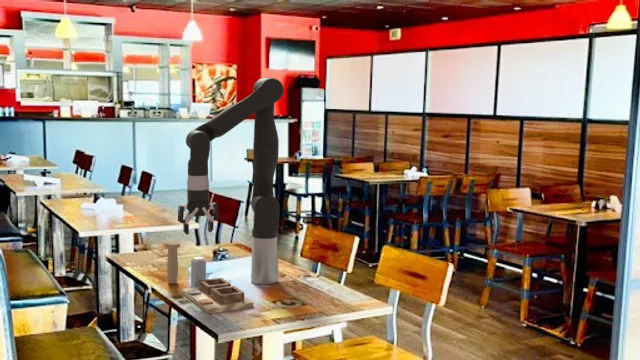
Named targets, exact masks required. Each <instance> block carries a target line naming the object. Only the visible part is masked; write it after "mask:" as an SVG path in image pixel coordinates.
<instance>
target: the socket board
mask: <svg viewBox="0 0 640 360" xmlns="http://www.w3.org/2000/svg"><path fill="white" fill-rule="evenodd" d="M181 294H182V295H183V296H185V297H186V298H187V299H189V300H190V301H191V302H193V304H195V305H196V306H197V307H199V309H201V310H202V311H203V312H205V313H206V314H207V315H209V314H216V312H217V313H221V312H228V311H235V310H242V309H247V308H254V303H255V302H253V301H252V300H251V299H249V298H248V297H246V296H245V292H244V291H243V290H241V289H240V288H238V287H237V286H235V285H232V283H231V282H230V281H228V280H226V279H224V278H223V277H216V278H215V277H214V278H206V280H199V287H193V288H192V287H186V288H185V287H184V288H182V289H181Z"/></svg>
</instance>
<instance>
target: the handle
mask: <svg viewBox="0 0 640 360" xmlns="http://www.w3.org/2000/svg"><path fill="white" fill-rule="evenodd" d="M164 244H165V248H166V249H167V264H166V269H167V270H166V274H167V283H168V284H170V285H171V284H172V285H174V284H177V282H178V276H179V260H178V259H179V258H178V249H179V248H181V242H180V241H177V240H166V241H165V243H164Z"/></svg>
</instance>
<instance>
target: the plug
mask: <svg viewBox="0 0 640 360" xmlns="http://www.w3.org/2000/svg"><path fill="white" fill-rule="evenodd" d="M190 261H191V262H190V264H191V265H190V288H193V287H199V280H206V279H207V275H206V274H207V260H206V259H205V258H204V257H202V256H195V257H192V259H190Z"/></svg>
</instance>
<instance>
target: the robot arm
mask: <svg viewBox="0 0 640 360" xmlns="http://www.w3.org/2000/svg"><path fill="white" fill-rule="evenodd" d="M252 91H253V92H252V93H251V94H250V95H248V96H247V97H245V98H244V99H242V100H240V101H239V102H236V103H235V104H233V105H231V106H229V107H227V108H225V109H224V110H221V112H219V113H218V114H216V115H215V116H214V117H212V118H210V119H209V120H208V121H207V122H205V123H203V124H201V125H199V126H197V127H196V128H194V129H192V130H191V131H190V132H188V134H187V135H186V137H185V143H186V146H187V147H188V148H189V150H190V151H189V152H190V153H189V159H188V161H187V179H186V180H187V181H186V182H187V183H186V185H187V186H186V190H187V191H186V194H187V195H186V196H187V197H186V198H187V202H186V203H187V204H186V205H182V204H178V208H177V222H179V223H180V224H183V226H182V227H183V228H182V229H183V230H182V231H183V233H184V234H185V235H186V236H187V235H189V234H190V226H189V225H190V224H189V222H190V221H191V220H193V218H194V217H204V216H205V218H206V219H207V220H208V221H207V231H208V233H212V232H213V231H214V222H215V221H218V220H219V219H220V218H219V204H218V203H217V202H212V203H210V180H209V158H210V151H211V142H212V141H213V140H215V139H217V138H221V137H223V136H224V135H226V134H227V133H228V132H230V131H232V130H233V129H234V128H236V127H237V126H238V125H240V124H241V123H242V122H244V121H245V120H246V119H248V118H249V117H251V116H253V115H254V123H253V124H254V126H253V127H254V128H253V142H252V143H253V147H252V148H253V149H252V152H253V153H252V155H253V156H252V157H253V160H252V161H253V187H252V195H251V204H250V205H251V209H252V212H253V213H254V218H253V220H254V221H253V228H252V230H251V266H250V267H251V270H250V271H251V273H250V274H251V275H250V281H251V283H253V284H256V285H272V284H275V283H277V282H279V260H280V259H279V256H277V255H278V253H277V251H278V250H277V249H278V245H277V244H278V232H279V226H280V203H279V200H278V198H277V197H275V196H274V195H275V194H274V176H275V173H276V169H277V164H278V161H279V148H280V147H279V141H280V140H279V134H278V130H277V127H276V122H275V114H274V113H275V104H276V103H278V102H279V101H280V100H281V99H282V97H283V96H284V85H283V84H282V82H281V81H280V80H279V79H277V78H275V77H262V78H259V79H258V80H257V81H255V83H254V85H253V89H252ZM210 209H211V210H212V215H211V213H210V212H209V210H210ZM186 210H187V211H188V212H187V213H186V215H185V217H184V214H185V212H186Z"/></svg>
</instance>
